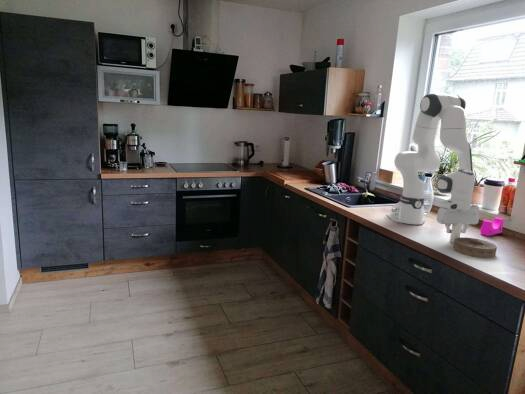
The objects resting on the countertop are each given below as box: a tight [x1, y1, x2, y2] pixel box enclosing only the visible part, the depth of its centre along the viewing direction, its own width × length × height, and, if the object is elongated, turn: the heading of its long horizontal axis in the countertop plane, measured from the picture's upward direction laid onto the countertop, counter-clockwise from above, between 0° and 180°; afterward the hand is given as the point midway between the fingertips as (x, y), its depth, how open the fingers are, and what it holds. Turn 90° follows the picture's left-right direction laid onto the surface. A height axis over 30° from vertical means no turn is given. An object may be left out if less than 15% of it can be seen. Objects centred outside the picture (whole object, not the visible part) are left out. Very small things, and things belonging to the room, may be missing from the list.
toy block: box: [479, 217, 505, 237], centre depth 209 cm, size 15×6×8 cm, turn 126°
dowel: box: [449, 223, 463, 244], centre depth 186 cm, size 4×4×10 cm
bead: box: [453, 236, 498, 259], centre depth 174 cm, size 16×16×4 cm
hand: (455, 232), depth 186 cm, fingers open, 6 cm apart
